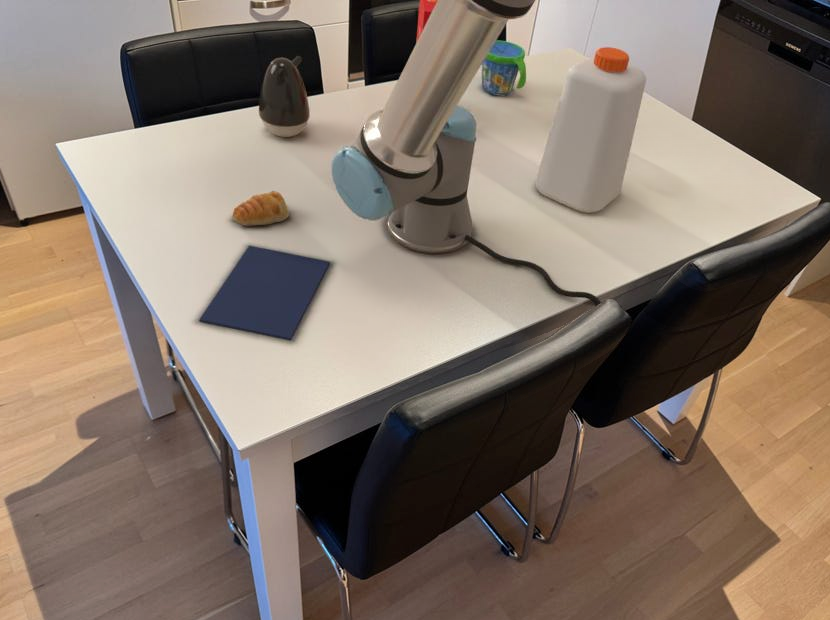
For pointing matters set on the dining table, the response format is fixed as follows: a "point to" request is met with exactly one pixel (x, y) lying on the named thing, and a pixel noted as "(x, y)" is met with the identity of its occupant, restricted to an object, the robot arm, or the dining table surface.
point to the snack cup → (503, 68)
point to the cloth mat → (266, 292)
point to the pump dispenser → (284, 98)
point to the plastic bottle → (592, 132)
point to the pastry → (261, 210)
